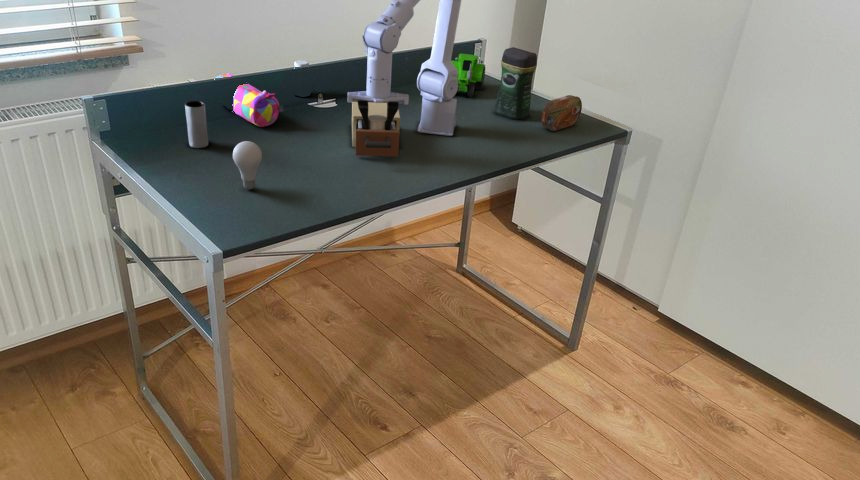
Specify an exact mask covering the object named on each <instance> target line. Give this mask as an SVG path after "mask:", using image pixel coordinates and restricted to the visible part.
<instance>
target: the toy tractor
mask: <svg viewBox="0 0 860 480" xmlns="http://www.w3.org/2000/svg"><path fill="white" fill-rule="evenodd" d="M454 58H455V60H452V59H451V62H452V64H453V65H454V66H455V68H456V69H457V70H458V77H457V80H458V89H457V92H458V91H460V92H465V93H466V92H467V97H471V98H473V97H474V93H475V90H483V87H484V83H485V77H486V75H485V74H486V64H484V60H480V63H478V60H479V55H477V54H476V55H475V54H467V53H459V54H458V57H454Z"/></svg>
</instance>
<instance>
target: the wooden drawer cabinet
mask: <svg viewBox="0 0 860 480" xmlns="http://www.w3.org/2000/svg"><path fill="white" fill-rule="evenodd" d="M370 115H383V116H385V117H386V118H387V103H374V102H368V116H370ZM358 119H363V118H362V115H361V113H360V110H359V108H358V102H352V103H351V145H352V148H356V129H357V126H358ZM393 120H394V121H395V127H396V131H399V132H400V127H401V125H400V124H401V116H400V109H399V108H398V111H397V113H396V114H395V116H394V118H393Z"/></svg>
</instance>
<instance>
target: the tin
mask: <svg viewBox="0 0 860 480" xmlns="http://www.w3.org/2000/svg"><path fill="white" fill-rule="evenodd" d="M582 109H583V102H582V99H581V98H580V97H579V96H577V95H576V96H575V95H571V94H569V95H564V96H561V97H557V98H553V99H551V100H549V101H548V102H547V103H546V104H545V105H544V107H543V109H542V112H541V122H540V123H541V126H542V127H543V128H544V129H546V130H549V131H551V132H557V131H559V130H561V129H565V128H569V127H571V126H573V125H574V124H575V123H576V122H577V121H578V120H579V118H580V116H581V114H582Z"/></svg>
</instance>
